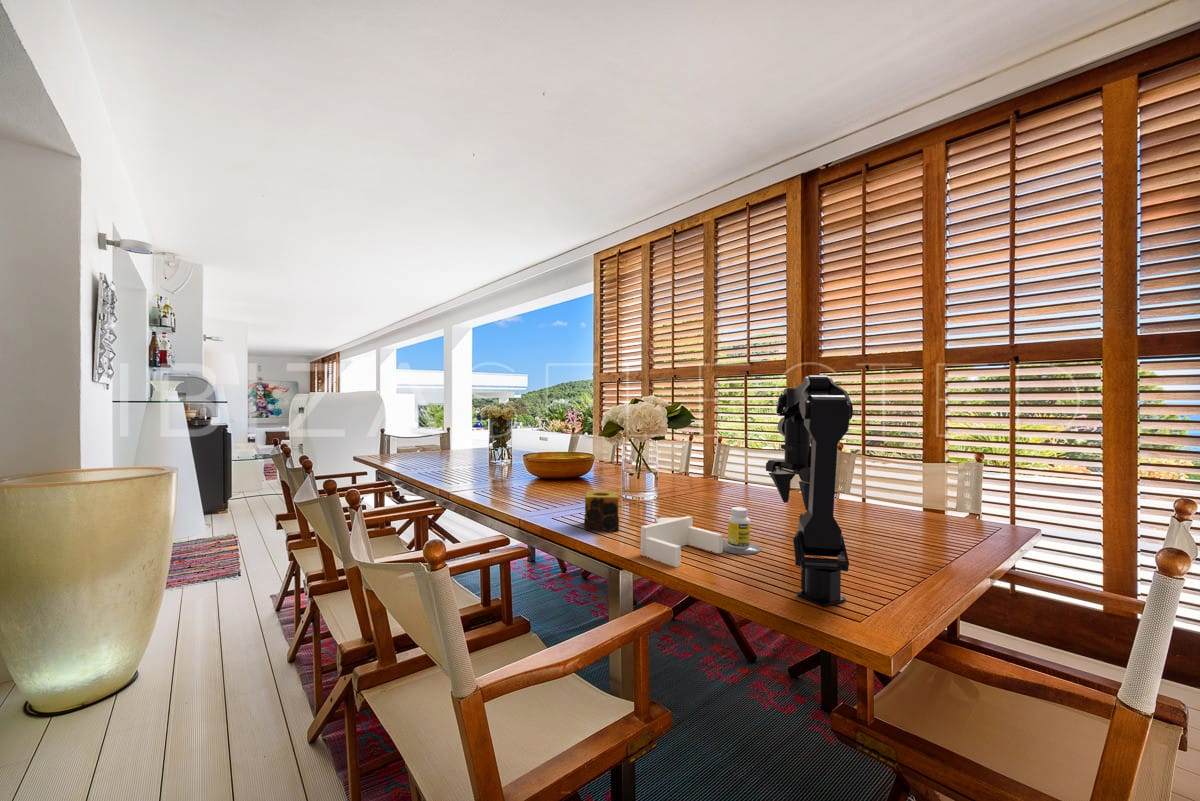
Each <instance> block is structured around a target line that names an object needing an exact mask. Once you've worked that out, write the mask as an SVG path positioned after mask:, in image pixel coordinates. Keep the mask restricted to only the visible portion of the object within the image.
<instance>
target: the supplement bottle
mask: <svg viewBox="0 0 1200 801" xmlns="http://www.w3.org/2000/svg"><path fill="white" fill-rule="evenodd" d="M748 510H749V509H748V508H745V507H739V506H737V507H731V512H730V513H731V515H730V516H729V517H728V533H727V540H728V545H729V546H730V547H732V548H736V549H747V548H749V546H750V542H751V539H750V538H751V519H750V518H749V517H748V512H749V511H748Z"/></svg>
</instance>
